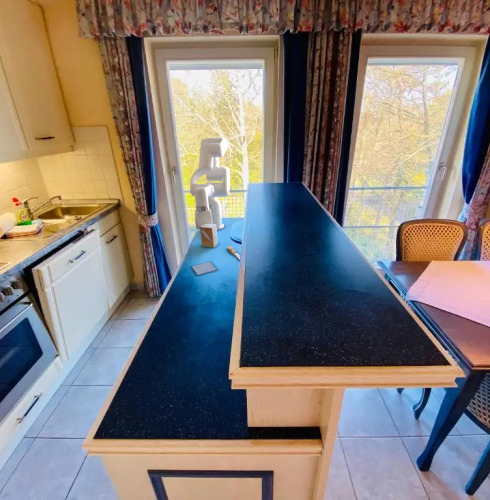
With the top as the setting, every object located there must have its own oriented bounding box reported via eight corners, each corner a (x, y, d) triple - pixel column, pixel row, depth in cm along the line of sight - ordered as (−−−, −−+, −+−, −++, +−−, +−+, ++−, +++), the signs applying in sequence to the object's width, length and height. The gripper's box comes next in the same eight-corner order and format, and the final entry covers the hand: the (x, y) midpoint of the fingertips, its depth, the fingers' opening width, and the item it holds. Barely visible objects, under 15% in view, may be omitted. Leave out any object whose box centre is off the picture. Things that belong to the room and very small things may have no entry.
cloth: (191, 267, 148) (191, 266, 148) (209, 262, 152) (209, 261, 152) (197, 275, 140) (197, 274, 140) (216, 270, 144) (216, 269, 144)
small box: (201, 246, 170) (199, 226, 165) (206, 242, 176) (204, 223, 170) (214, 248, 168) (211, 227, 162) (218, 243, 173) (216, 224, 168)
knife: (227, 249, 166) (227, 246, 165) (230, 248, 167) (230, 245, 166) (239, 260, 152) (239, 258, 152) (243, 259, 153) (243, 257, 153)
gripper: (212, 204, 173) (214, 231, 181) (188, 208, 167) (192, 236, 175) (216, 207, 167) (219, 235, 175) (192, 211, 161) (196, 240, 169)
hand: (205, 236), depth 175 cm, fingers closed
